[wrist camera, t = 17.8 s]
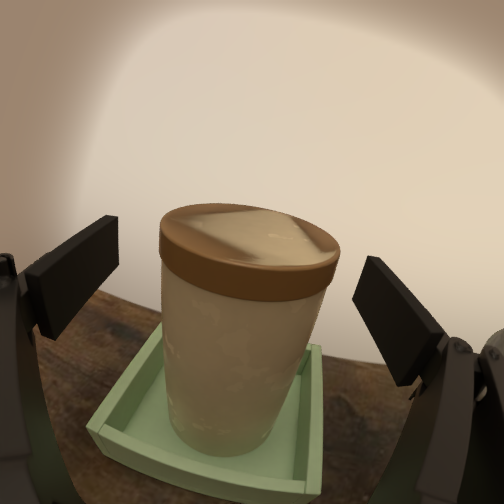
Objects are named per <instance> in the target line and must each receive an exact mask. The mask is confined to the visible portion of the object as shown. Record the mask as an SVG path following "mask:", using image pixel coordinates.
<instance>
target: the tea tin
mask: <svg viewBox="0 0 504 504" xmlns="http://www.w3.org/2000/svg"><path fill="white" fill-rule="evenodd" d="M159 254H160V257H161V259H162V267H161V305H162V338H163V357H164V371H165V383H166V394H167V403H168V412H169V420H170V423H171V426H172V428H173V430H174V431H175V433H176V434H177V436H178V437H179V438H180V439H181V440H182V441H183V442H184V443H185V444H187V445H188V446H189V447H191V448H193V449H194V450H196V451H199V452H201V453H204V454H207V455H211V456H215V457H234V456H240V455H243V454H246V453H249V452H251V451H253V450H255V449H256V448H258V447H259V446H260V445H262V444H263V443H264V442H265V440H266V439H267V438H268V436H269V435H270V433H271V430H272V428H273V426H274V424H275V422H276V420H277V417H278V415H279V413H280V411H281V408H282V406H283V404H284V402H285V399H286V397H287V395H288V392H289V390H290V387H291V385H292V383H293V380H294V378H295V375H296V373H297V370H298V368H299V365H300V363H301V360H302V357H303V355H304V352H305V349H306V347H307V344H308V341H309V338H310V336H311V333H312V330H313V328H314V325H315V322H316V319H317V316H318V313H319V310H320V307H321V304H322V301H323V298H324V295H325V292H326V289H327V287H328V286H329V285H330V283H331V281H332V279H333V277H334V273H335V270H336V267H337V264H338V260H339V257H340V246H339V244H338V242H337V241H336V240H335V239H334V238H333V237H332V236H331V235H330V234H328V233H327V232H325V231H324V230H322V229H321V228H319V227H317V226H315V225H313V224H311V223H309V222H307V221H305V220H302V219H300V218H297V217H294V216H291V215H288V214H284V213H281V212H277V211H273V210H269V209H264V208H259V207H253V206H246V205H238V204H222V203H210V204H196V205H189V206H185V207H180V208H177V209H174V210H172V211H170V212H168V213H167V214H165V215H164V216H163V218H162V220H161V222H160V232H159Z"/></svg>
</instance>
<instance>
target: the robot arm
mask: <svg viewBox="0 0 504 504" xmlns="http://www.w3.org/2000/svg"><path fill="white" fill-rule="evenodd" d="M118 253H119V250H118V217H117V216H109V215H105V216H103V217H102V218H100V219H99V220H97V221H95V222H94V223H92V224H91V225H89V226H88V227H86V228H85V229H83V230H82V231H80V232H79V233H77V234H75V235H74V236H72V237H71V238H70V239H68V240H67V241H65V242H64V243H62V244H61V245H60V246H58V247H57V248H55V249H54V250H52V251H51V252H49V253H46V254H45V255H43V256H42V257H40V258H39V260H36V261H35V262H34V263H33V264H31V265H30V266H28V267H27V268H26V269H25V270H23V271H22V272H21V273H19V274H18V275H17V273H16V268H15V263H14V258H13V255H11V254H8V253H1V254H0V504H85V503H84V501H83V500H82V499H81V497H80V496H79V495H78V493H77V491H76V489H75V487H74V485H73V483H72V481H71V478H70V476H69V474H68V471H67V469H66V466H65V464H64V461H63V459H62V456H61V453H60V450H59V447H58V444H57V441H56V438H55V435H54V432H53V429H52V425H51V422H50V418H49V414H48V410H47V406H46V402H45V398H44V393H43V389H42V383H41V378H40V372H39V366H38V360H37V352H36V344H35V335H34V333H33V330H32V328H33V327H34V326H35V325H36V324H38V327H39V330H40V333H41V335H42V336H44V337H47V338H49V339H52V340H54V341H56V339H57V338H58V337H59V335H60V334H61V333H62V332H63V330H64V329H65V328H66V326H67V325H68V324H69V323H70V321H71V320H72V319H73V318H74V316H75V315H76V314H77V313H78V312H79V310H80V309H81V308H82V307H83V305H84V304H85V303H86V302H87V301H88V299H89V298H90V297H91V296H92V295H93V294H94V292H95V291H96V290H97V289H98V288H99V286H100V285H101V284H102V283H103V282H104V281H105V280H106V279H107V277H108V276H109V275H110V274H111V273H112V272H113V271H114V270H115V269H116V268H117V267H118V265H119V254H118ZM352 301H353V302H354V304H355V306H356V307H357V309H358V311H359V313H360V315H361V317H362V318H363V320H364V322H365V324H366V326H367V328H368V330H369V332H370V334H371V335H372V337H373V339H374V341H375V343H376V345H377V347H378V349H379V351H380V353H381V354H382V357H383V359H384V361H385V363H386V365H387V367H388V369H389V371H390V373H391V375H392V377H393V379H394V381H395V383H396V385H397V387H400V386H409V385H412V384H413V382H414V381H415V379H416V378H417V377H418V375H420V377H421V379H422V382H421V383H420V384H419V386H418V387H417V388H416V390H415V391H414V392H413V394H412V395H411V396H410V398H409V400H411V399H412V398H413V397H414V400H413V403H412V406H411V409H410V412H409V415H408V418H407V421H406V423H405V426H404V428H403V431H402V434H401V436H400V438H399V441H398V443H397V446H396V448H395V450H394V452H393V455H392V457H391V459H390V461H389V463H388V465H387V467H386V470H385V472H384V474H383V475H382V477H381V479H380V481H379V483H378V485H377V487H376V489H375V491H374V492H373V494H372V496H371V498H370V499H369V501H368V503H367V504H504V356H503V355H502V353H501V352H500V350H499V349H498V348H496V347H495V346H494V347H493V346H491V345H485V346H484V348H483V350H482V351H481V353H480V354H477V353H473V349H472V347H471V346H470V345H469V344H468V343H467V342H466V341H464V340H462V339H460V338H457V337H451V338H450V337H449V336H448V335H447V333H446V332H445V331H444V330H443V328H442V327H441V326H440V325H439V324H438V323H437V322H436V320H435V319H434V317H432V315H431V314H430V313H429V311H428V310H427V309H426V308H424V306H423V305H422V304H421V303H420V302H419V301H418V299H417V298H416V297H415V296H414V295H413V294H412V292H411V291H410V290H409V289H408V288H407V287H406V286H405V285H404V284H403V282H402V281H401V280H400V279H399V278H398V277H397V276H396V275H395V274H394V273H393V271H392V270H391V269H390V268H389V267H388V266H387V265H386V264H385V263H384V262H383V261H382V260H381V259H380V258H379V257H374V256H367V259H366V262H365V265H364V267H363V270H362V273H361V276H360V279H359V282H358V284H357V287H356V290H355V293H354V295H353V298H352ZM485 388H487V391H486V394H485V396H484V397H483V398H482V399H481V400H479V395H480V394H481V393H482V391H483V390H484V389H485Z"/></svg>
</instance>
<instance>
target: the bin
mask: <svg viewBox="0 0 504 504" xmlns="http://www.w3.org/2000/svg"><path fill="white" fill-rule="evenodd" d="M86 428H87V430H88V431H89V433H90V435H91V436H92V438H93V440H94V441H95V443H96V444H97V446H98V447H99V449H100V450H101V452H102V453H103V455H105V456H107V457H109V458H111V459H113V460H115V461H117V462H119V463H121V464H123V465H125V466H127V467H130V468H132V469H134V470H136V471H139V472H141V473H143V474H146V475H148V476H151V477H153V478H156V479H158V480H161V481H164V482H166V483H169V484H172V485H175V486H178V487H181V488H184V489H187V490H190V491H194V492H197V493H201V494H204V495H208V496H212V497H216V498H220V499H225V500H229V501H234V502H239V503H244V504H308V503H309V502H310V501H312V500H313V499H315V498H316V497H318V496H319V495H320V494H321V483H322V458H323V379H322V353H321V346H320V345H315V344H310V343H308V344H307V347H306V349H305V352H304V355H303V357H302V360H301V363H300V365H299V368H298V370H297V373H296V375H295V378H294V380H293V383H292V385H291V387H290V390H289V392H288V395H287V397H286V399H285V402H284V404H283V406H282V408H281V411H280V413H279V415H278V417H277V420H276V422H275V424H274V426H273V428H272V430H271V433H270V435H269V436H268V438H267V439H266V440H265V442H264V443H263V444H262V445H260V446H259V447H258V448H256V449H255V450H253V451H251V452H249V453H246V454H243V455H240V456H234V457H215V456H211V455H207V454H204V453H201V452H199V451H196V450H194V449H193V448H191V447H189V446H188V445H187V444H185V443H184V442H183V441H182V440H181V439H180V438H179V437H178V436H177V434H176V433H175V431H174V430H173V428H172V426H171V423H170V420H169V412H168V403H167V394H166V383H165V371H164V357H163V338H162V321H161V323H160V324H159V325H158V327H157V328H156V329H155V331H154V332H153V333H152V335H151V336H150V337H149V339H148V340H147V341H146V343H145V344H144V345H143V347H142V348H141V349H140V351H139V352H138V354H137V355H136V356H135V358H134V359H133V360H132V362H131V363H130V364H129V366H128V367H127V369H126V370H125V371H124V373H123V374H122V375H121V377H120V378H119V380H118V381H117V382H116V384H115V385H114V387H113V388H112V389H111V391H110V392H109V394H108V395H107V396H106V398H105V399H104V401H103V402H102V403H101V405H100V406H99V408H98V409H97V411H96V412H95V413H94V415H93V416H92V418H91V419H90V421H89V422H88V424H87V425H86Z"/></svg>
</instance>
